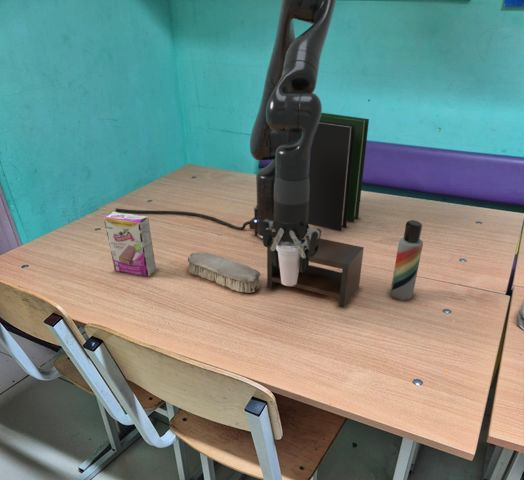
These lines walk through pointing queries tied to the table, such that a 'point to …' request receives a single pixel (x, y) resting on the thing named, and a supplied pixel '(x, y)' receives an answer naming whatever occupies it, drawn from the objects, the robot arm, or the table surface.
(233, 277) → the shoe brush
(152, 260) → the candy bar box
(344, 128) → the binder
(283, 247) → the smoothie
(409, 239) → the lotion bottle
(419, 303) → the table surface
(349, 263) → the box
